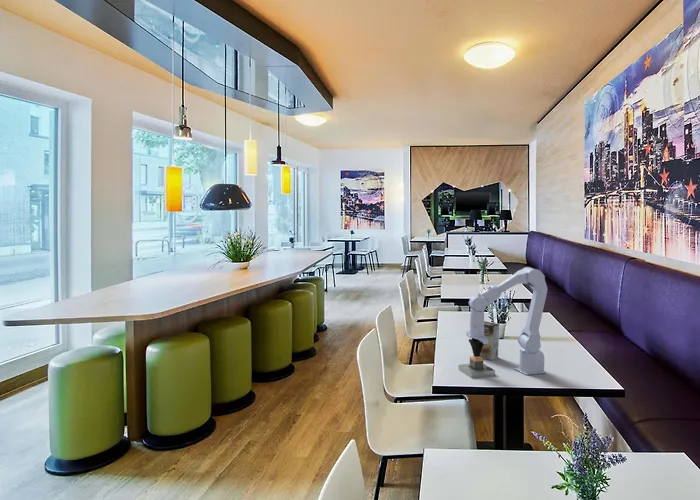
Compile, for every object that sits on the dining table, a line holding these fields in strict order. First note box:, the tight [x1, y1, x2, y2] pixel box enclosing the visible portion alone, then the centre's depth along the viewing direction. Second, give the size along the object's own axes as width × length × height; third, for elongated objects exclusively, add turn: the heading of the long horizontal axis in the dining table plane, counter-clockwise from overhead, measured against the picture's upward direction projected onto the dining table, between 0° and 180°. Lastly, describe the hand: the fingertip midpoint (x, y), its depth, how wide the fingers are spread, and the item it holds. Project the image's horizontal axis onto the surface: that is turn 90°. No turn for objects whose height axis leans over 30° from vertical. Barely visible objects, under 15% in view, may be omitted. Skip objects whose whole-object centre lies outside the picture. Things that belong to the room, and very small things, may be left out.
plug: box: [469, 355, 484, 370], centre depth 203 cm, size 4×4×6 cm
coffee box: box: [480, 320, 500, 361], centre depth 223 cm, size 9×6×16 cm
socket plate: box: [458, 363, 496, 379], centre depth 203 cm, size 11×11×2 cm
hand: (476, 356), depth 202 cm, fingers closed
